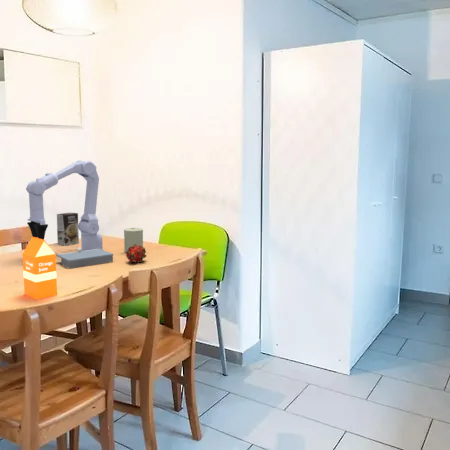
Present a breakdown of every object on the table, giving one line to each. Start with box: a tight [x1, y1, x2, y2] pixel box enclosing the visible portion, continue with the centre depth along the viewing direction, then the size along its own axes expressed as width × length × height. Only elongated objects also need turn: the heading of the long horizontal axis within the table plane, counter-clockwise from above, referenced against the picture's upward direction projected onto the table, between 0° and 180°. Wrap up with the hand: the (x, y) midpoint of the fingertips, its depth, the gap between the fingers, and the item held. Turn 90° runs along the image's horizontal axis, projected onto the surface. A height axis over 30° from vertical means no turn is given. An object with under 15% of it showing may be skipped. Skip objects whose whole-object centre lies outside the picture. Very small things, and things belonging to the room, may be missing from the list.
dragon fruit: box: [125, 244, 147, 264], centre depth 219 cm, size 8×8×12 cm
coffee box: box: [56, 212, 80, 247], centre depth 257 cm, size 9×6×16 cm
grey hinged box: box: [60, 254, 114, 269], centre depth 217 cm, size 20×9×3 cm, turn 130°
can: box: [123, 227, 144, 255], centre depth 238 cm, size 9×9×12 cm
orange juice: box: [21, 236, 58, 300], centre depth 170 cm, size 8×9×20 cm
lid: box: [55, 247, 114, 262], centre depth 218 cm, size 20×14×3 cm
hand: (38, 238), depth 220 cm, fingers open, 7 cm apart
